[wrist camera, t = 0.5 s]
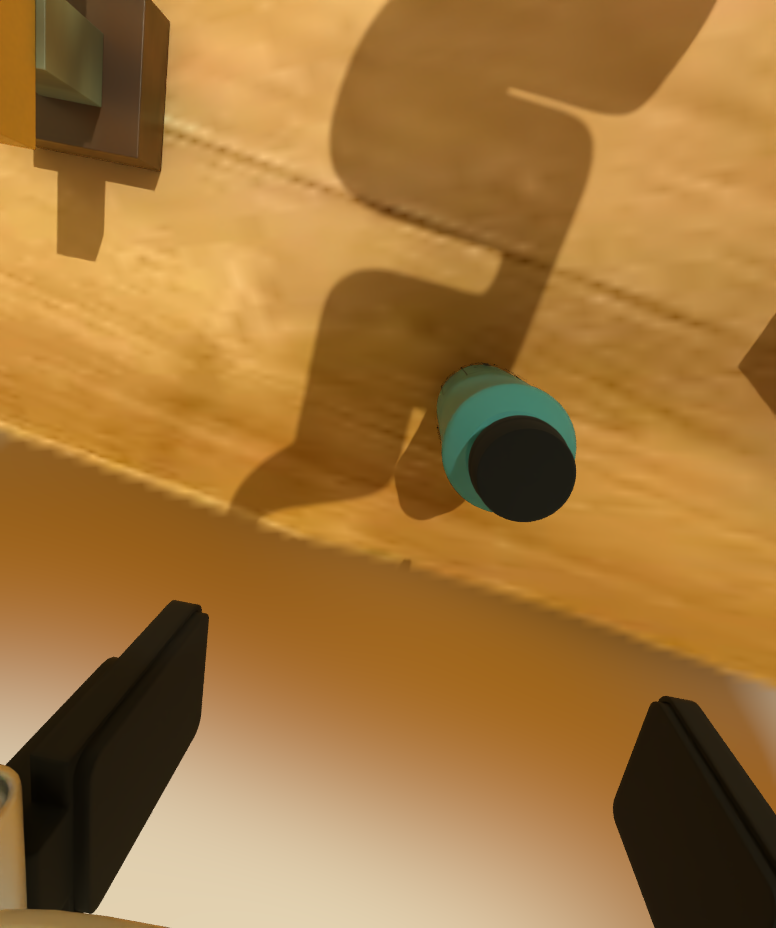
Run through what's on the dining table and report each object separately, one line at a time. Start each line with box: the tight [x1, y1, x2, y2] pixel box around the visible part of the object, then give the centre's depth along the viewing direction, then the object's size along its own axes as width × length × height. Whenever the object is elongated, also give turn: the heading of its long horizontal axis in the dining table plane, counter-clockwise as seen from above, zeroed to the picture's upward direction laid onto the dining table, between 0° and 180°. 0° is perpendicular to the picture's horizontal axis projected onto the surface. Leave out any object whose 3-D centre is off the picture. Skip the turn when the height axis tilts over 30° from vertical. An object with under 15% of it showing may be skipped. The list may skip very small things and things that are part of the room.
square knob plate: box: [35, 0, 169, 171], centre depth 31 cm, size 9×9×8 cm
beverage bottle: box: [435, 362, 576, 522], centre depth 29 cm, size 6×7×20 cm
